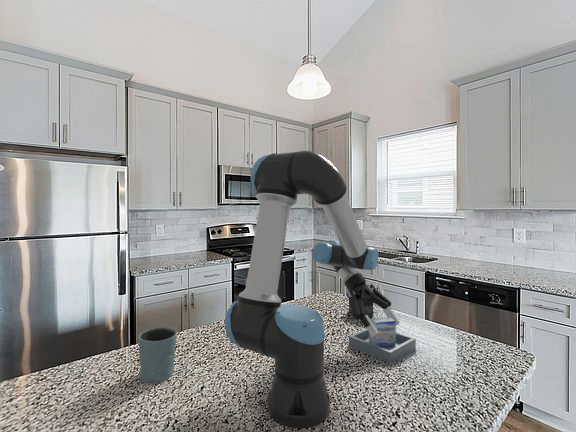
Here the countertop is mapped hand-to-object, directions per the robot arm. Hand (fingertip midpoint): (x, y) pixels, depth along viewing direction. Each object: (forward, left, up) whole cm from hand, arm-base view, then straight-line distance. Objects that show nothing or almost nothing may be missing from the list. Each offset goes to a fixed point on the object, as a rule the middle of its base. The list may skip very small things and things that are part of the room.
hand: (386, 329), depth 108 cm
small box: (+22, +27, -7) cm, 35 cm away
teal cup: (-65, +33, -7) cm, 73 cm away
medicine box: (0, +2, -6) cm, 6 cm away
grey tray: (0, +2, -7) cm, 7 cm away
